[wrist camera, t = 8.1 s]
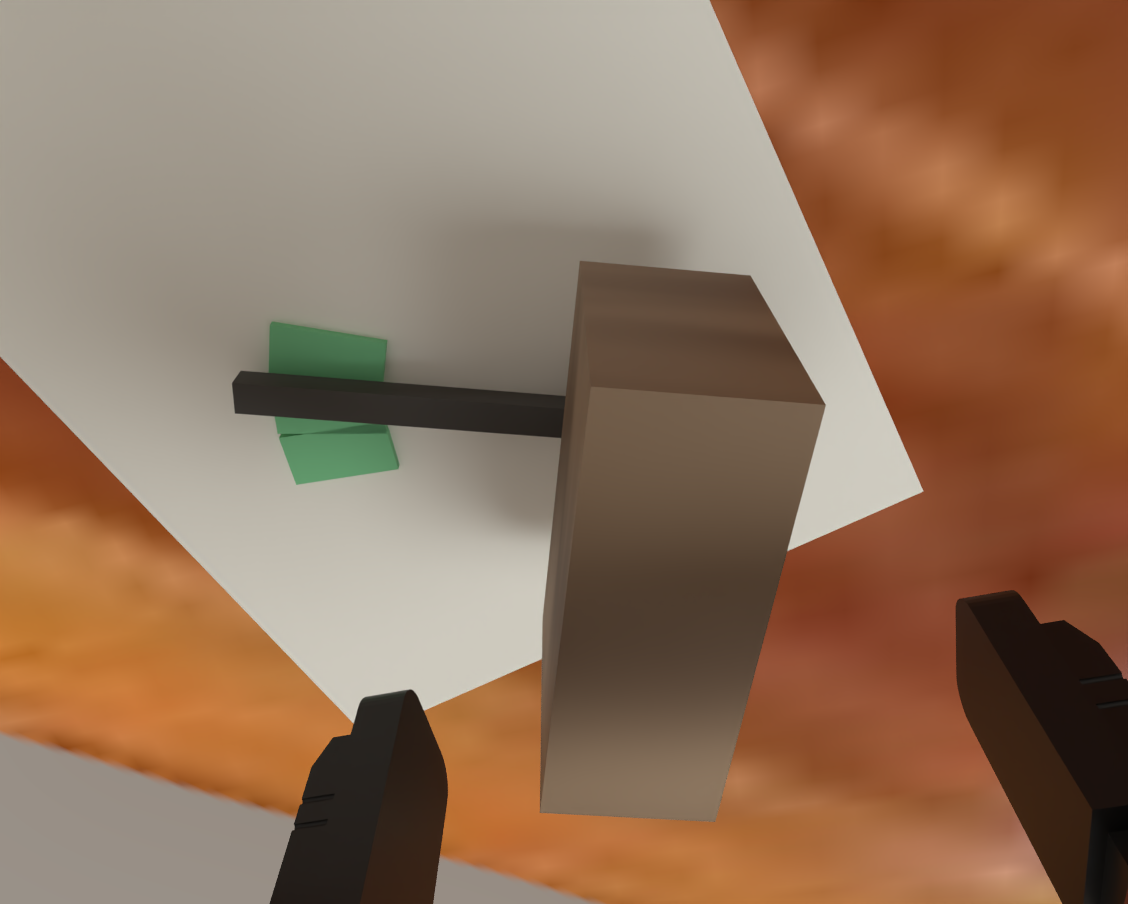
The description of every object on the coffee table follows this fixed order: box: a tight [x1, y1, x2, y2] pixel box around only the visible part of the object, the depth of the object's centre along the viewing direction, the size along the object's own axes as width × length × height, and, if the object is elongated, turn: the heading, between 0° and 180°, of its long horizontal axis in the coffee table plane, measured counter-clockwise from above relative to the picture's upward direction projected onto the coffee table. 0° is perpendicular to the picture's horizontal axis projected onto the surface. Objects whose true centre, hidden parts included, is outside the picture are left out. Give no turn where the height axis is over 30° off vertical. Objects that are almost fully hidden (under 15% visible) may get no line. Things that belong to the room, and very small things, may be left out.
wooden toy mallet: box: [232, 261, 826, 822], centre depth 16 cm, size 8×10×7 cm
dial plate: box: [0, 0, 923, 723], centre depth 19 cm, size 16×23×2 cm
